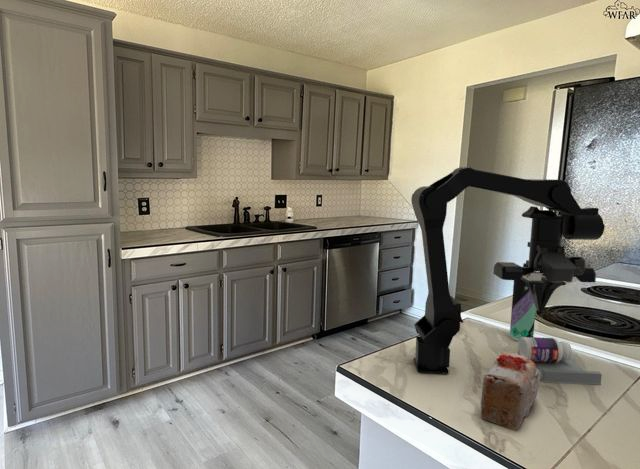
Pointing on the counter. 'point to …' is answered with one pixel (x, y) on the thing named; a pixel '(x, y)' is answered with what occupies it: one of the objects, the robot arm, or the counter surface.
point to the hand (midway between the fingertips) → (539, 310)
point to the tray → (566, 373)
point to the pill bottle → (544, 349)
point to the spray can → (522, 311)
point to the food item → (509, 390)
